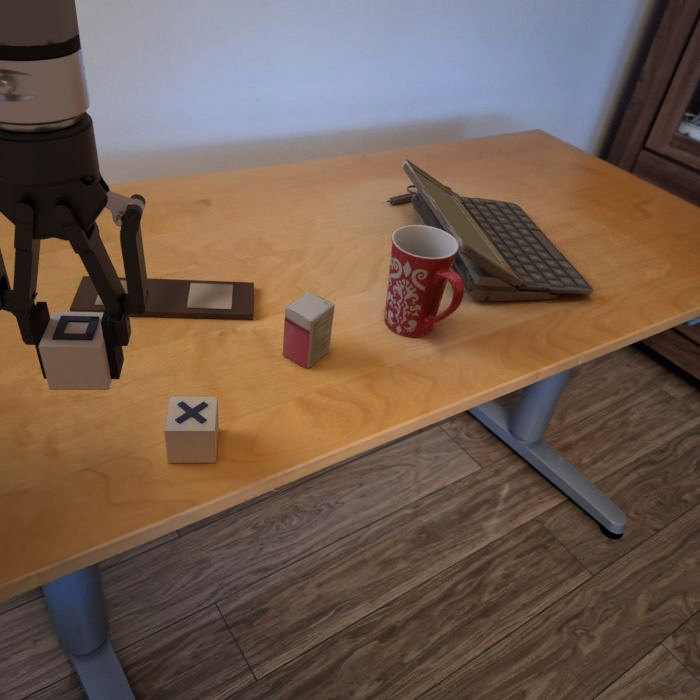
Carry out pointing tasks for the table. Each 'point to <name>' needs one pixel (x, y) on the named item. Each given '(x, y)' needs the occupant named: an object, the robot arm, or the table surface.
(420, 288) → the mug
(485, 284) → the laptop
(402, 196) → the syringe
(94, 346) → the tile
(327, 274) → the table surface
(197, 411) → the tile
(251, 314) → the word board
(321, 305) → the small box
